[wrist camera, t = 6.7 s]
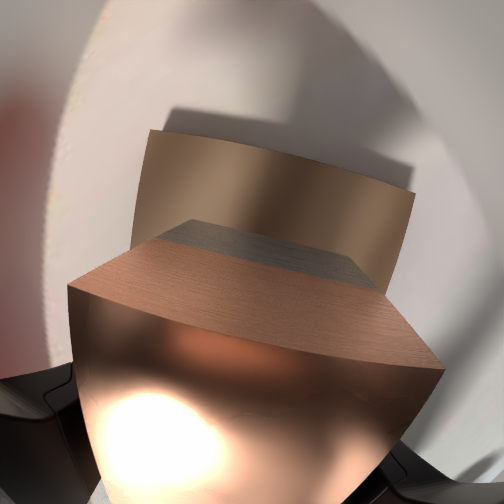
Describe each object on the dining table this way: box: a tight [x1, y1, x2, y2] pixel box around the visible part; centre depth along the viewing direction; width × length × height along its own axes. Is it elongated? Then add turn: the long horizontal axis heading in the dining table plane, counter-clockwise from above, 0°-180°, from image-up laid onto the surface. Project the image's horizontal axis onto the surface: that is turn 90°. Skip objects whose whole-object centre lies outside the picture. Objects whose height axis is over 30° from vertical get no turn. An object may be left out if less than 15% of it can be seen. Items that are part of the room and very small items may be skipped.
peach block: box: [67, 219, 445, 504], centre depth 7 cm, size 8×5×6 cm, turn 167°
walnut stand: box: [130, 129, 416, 295], centre depth 16 cm, size 14×14×2 cm
